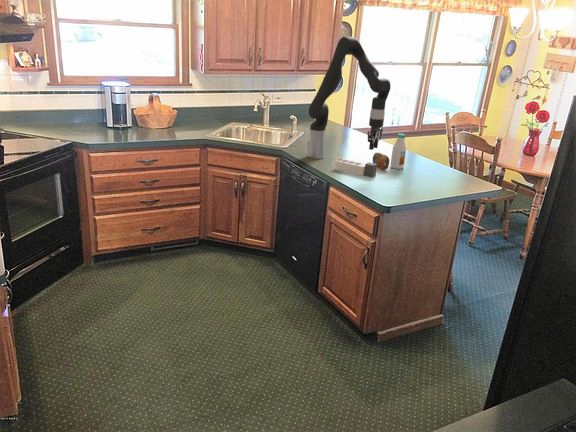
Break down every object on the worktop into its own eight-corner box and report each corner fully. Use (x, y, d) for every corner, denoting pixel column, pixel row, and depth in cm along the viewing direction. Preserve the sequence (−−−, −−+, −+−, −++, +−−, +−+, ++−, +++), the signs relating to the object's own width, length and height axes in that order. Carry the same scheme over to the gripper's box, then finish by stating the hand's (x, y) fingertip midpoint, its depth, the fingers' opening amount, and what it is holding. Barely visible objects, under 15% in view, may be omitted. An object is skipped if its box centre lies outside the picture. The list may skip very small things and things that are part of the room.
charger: (359, 174, 278) (361, 162, 275) (363, 172, 281) (364, 161, 279) (372, 177, 274) (373, 165, 271) (375, 175, 277) (377, 164, 275)
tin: (371, 164, 299) (373, 150, 296) (376, 164, 300) (377, 150, 297) (384, 171, 286) (386, 157, 283) (389, 171, 287) (391, 157, 284)
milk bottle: (393, 169, 291) (398, 135, 284) (387, 165, 298) (392, 132, 291) (405, 169, 293) (410, 135, 286) (399, 165, 300) (404, 132, 293)
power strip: (334, 169, 285) (335, 159, 283) (340, 166, 290) (341, 157, 288) (362, 175, 276) (363, 166, 274) (368, 173, 281) (369, 163, 279)
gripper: (376, 114, 272) (372, 145, 279) (364, 117, 261) (361, 149, 268) (389, 116, 268) (385, 147, 275) (377, 120, 257) (373, 152, 264)
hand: (373, 148), depth 271 cm, fingers open, 4 cm apart
